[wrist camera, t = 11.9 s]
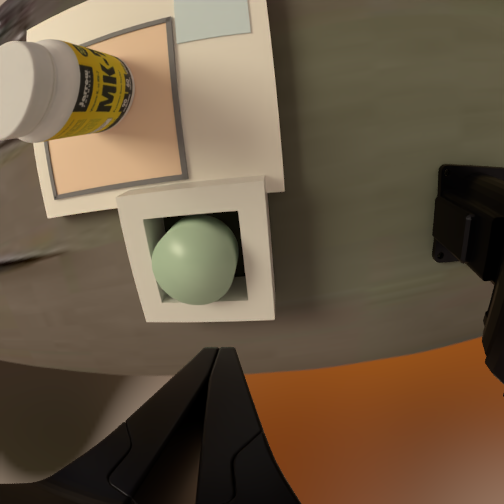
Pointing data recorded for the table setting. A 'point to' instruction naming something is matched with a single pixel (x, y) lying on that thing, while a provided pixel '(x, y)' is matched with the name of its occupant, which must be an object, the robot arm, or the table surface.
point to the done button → (196, 260)
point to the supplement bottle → (60, 90)
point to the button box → (199, 202)
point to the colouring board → (169, 100)
